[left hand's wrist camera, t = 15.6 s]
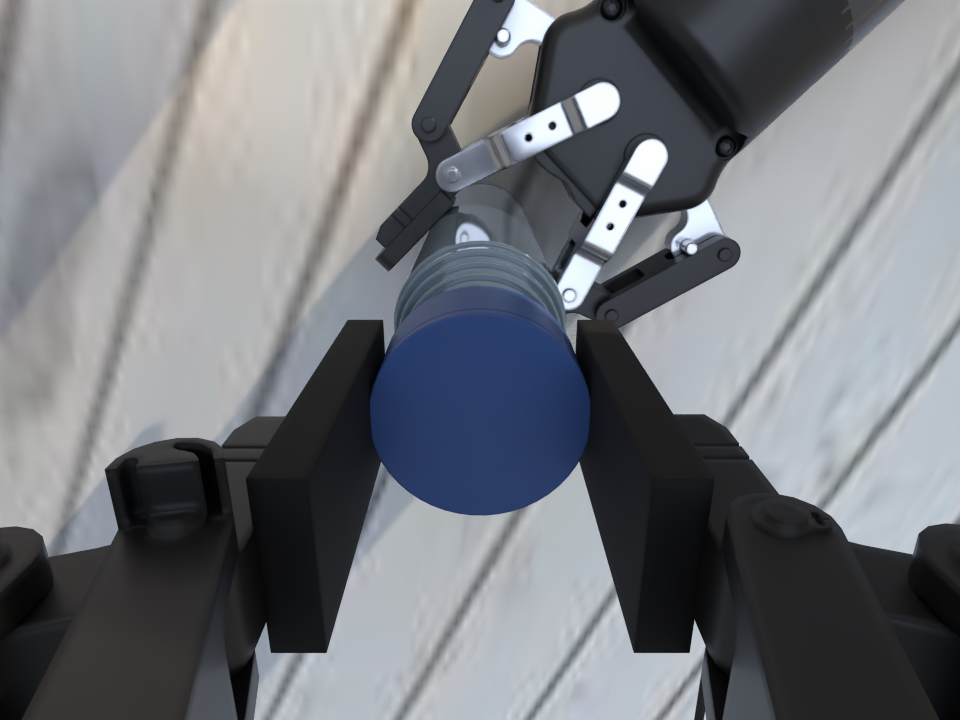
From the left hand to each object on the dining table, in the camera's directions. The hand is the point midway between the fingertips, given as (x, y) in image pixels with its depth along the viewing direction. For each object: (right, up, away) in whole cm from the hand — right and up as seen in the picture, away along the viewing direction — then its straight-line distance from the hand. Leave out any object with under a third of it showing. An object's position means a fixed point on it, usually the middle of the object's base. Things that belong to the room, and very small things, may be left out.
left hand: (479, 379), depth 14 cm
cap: (0, -1, -2) cm, 2 cm away
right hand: (-2, +3, +12) cm, 13 cm away
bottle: (0, +7, +18) cm, 19 cm away
